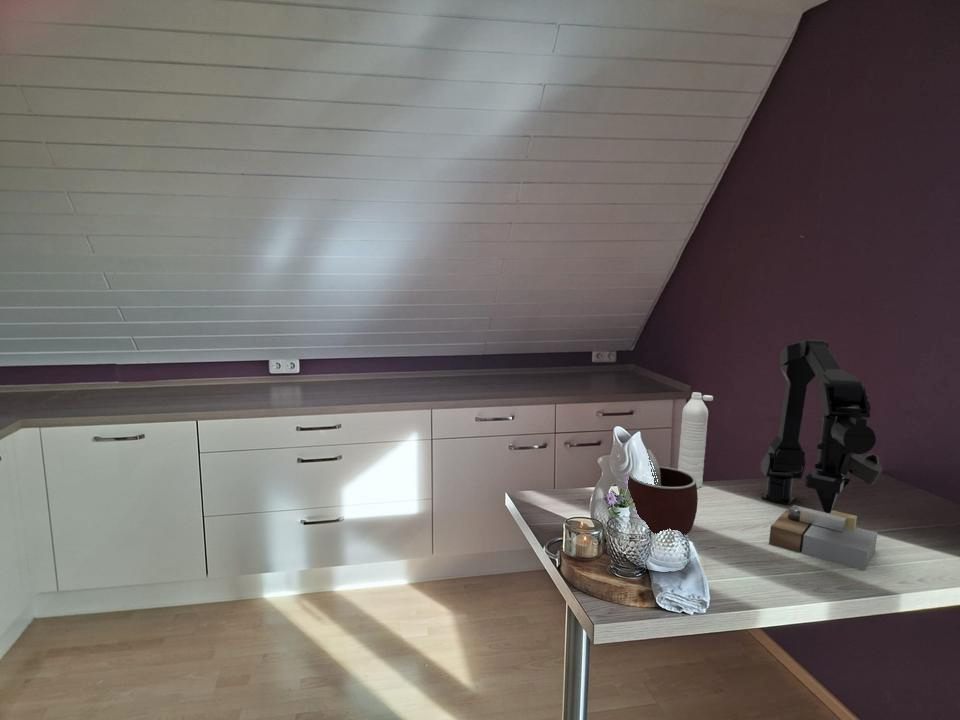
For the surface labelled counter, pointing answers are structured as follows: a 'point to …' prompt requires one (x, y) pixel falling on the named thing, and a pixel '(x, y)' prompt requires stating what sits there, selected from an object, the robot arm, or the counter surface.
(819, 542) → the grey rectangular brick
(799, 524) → the jamb block
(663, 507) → the mate gourd
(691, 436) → the water bottle
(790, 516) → the bar
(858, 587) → the counter surface
